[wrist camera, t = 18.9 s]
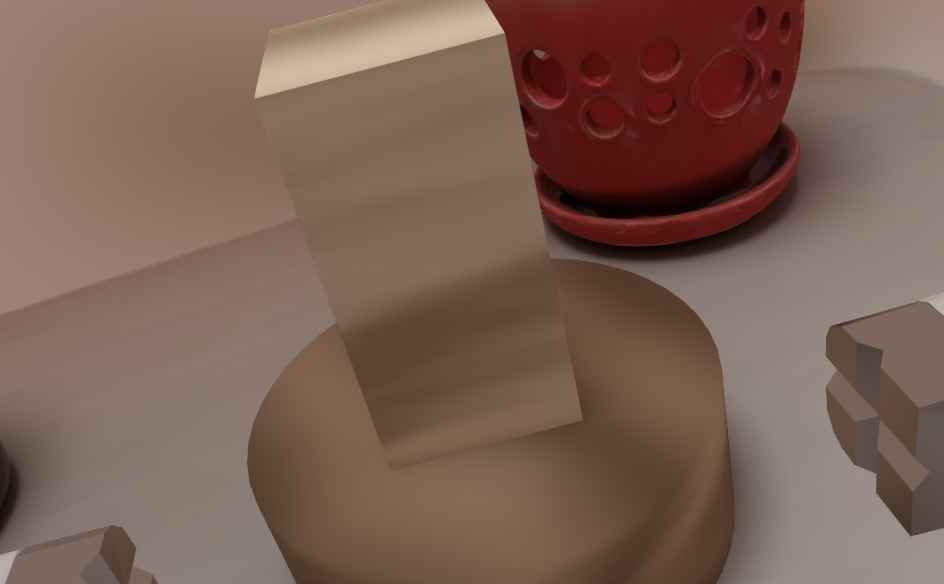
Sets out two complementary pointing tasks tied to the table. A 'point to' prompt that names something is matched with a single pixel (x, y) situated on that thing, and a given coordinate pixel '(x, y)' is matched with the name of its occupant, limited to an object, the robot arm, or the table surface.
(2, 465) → the supplement container
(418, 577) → the walnut plinth
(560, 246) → the table surface
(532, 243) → the ash block
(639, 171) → the plant pot
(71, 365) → the table surface
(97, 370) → the table surface
